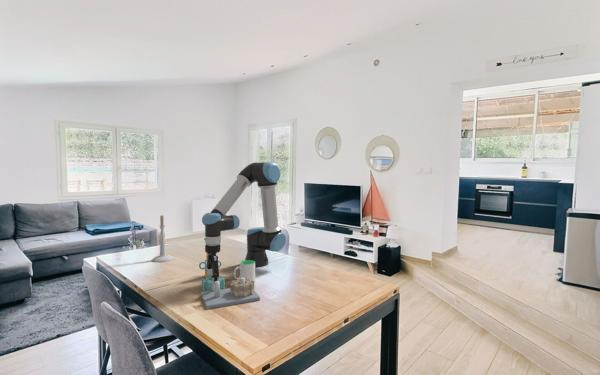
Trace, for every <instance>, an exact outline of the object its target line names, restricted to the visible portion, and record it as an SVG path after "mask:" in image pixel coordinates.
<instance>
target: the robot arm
mask: <svg viewBox="0 0 600 375" xmlns="http://www.w3.org/2000/svg"><path fill="white" fill-rule="evenodd" d="M280 178H281V170H280V168H279V166H278V165H277V164H276V163H274V162H270V161H269V162H268V161H267V162H265V161H264V162H252V163H250V164H248V165H246V166H245V167H244V168H243V169H241V171H240V172H239V173H238V175H236V179H235V181H234V182H233V184H232V185H231V186H230V187H229V188H228V189H227V191H226V192H225V193H224V195H223V196H222V197H221V198H220V200H219V201H218V202H217V203H216V205H215V206H214V208H212V210H211V211H210V212H207V213H204V214H203V215H202V217H201V218H202V219H201V223H202V224H203V226H204V236H205V237H204V238H203V240H204V242H205V245H204V252H205V253H208V258H207V259H206V260H207V261H206V263H207V276H212V290H214V282H215V281H218V277H219V276H220V271H219V270H220V267H218V266H219V262H218V261H219V256H218V255H217V253H220V252H221V236H222V235H221V233H222V232H223V231H224V232H225V231H233V230H236V229H238V228H239V226H240V225H241V224H240V223H241V221H240V218H239V217H238V215H235V214H230V215H227V213H228V212H230V210H231V209H232V207H233V206H234V204H235V203H236V202H237V201H238V199H239V198H240V197H241V196H242V194H243V193H244V191H246V189H247V188H248V187H251V185H252V184H253V183H257V187H258V188H259V189H260V198H261V207H262V209H261V210H262V218H263V226H261V227H251V228H249V229H248V230H247V231H246V232H247V233H246V248H247V250H246V255H245V258H244V261H245V260H252V261H255V268H259V267H260V268H261V267H264V266H267V265H269V258H268V254H267V252H266V251H270V252H281V250H283V249H284V247H285V245H286V241H287V237H286V234H284V232H282V227H280V226H279V219H278V208H277V197H276V196H277V195H276V187H277V185H278V182H279V181H280ZM215 274H216V275H215Z"/></svg>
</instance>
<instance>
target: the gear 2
mask: <svg viewBox="0 0 600 375" xmlns="http://www.w3.org/2000/svg"><path fill="white" fill-rule="evenodd" d="M229 286H230V287H229V288H230V294H231V295H235V297H239V296H243V297H247V295H253V294H254V291H255V282H254V281H253V280H252V281H251V280H250V279H245V284H240V279H236V280H231V283H230V285H229Z"/></svg>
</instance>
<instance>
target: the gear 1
mask: <svg viewBox="0 0 600 375" xmlns="http://www.w3.org/2000/svg"><path fill="white" fill-rule="evenodd" d="M218 281H219V282H220V290H221V289H226V286H225V285H226V284H225V283H226V282H225V281H226V279H225V277H224V276H223V275H219V277H218ZM201 290H202V292H208V291H214V290H212V276H207V277H204V278H203V277H202V278H201Z"/></svg>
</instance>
